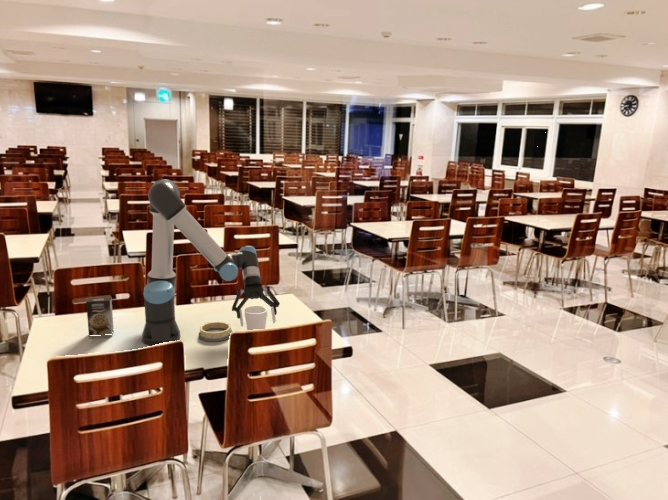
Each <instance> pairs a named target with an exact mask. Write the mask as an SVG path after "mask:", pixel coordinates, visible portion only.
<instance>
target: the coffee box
mask: <svg viewBox="0 0 668 500" xmlns="http://www.w3.org/2000/svg"><path fill="white" fill-rule="evenodd" d="M112 302H113V298H112V296H111V295H110V296H95V297H94V296H93V297H92V296H91V297H88V298H87V300H86V301H85V304H86V316H87V318H86V319H87V328H88V339H97V338H98V339H99V338H112V337H113V335H114V333H115V330H113V329H115V328H114V317H113V304H112ZM112 332H113V333H112ZM105 334H112V335H105ZM89 335H101V336H89Z"/></svg>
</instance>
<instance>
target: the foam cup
mask: <svg viewBox="0 0 668 500" xmlns="http://www.w3.org/2000/svg"><path fill="white" fill-rule="evenodd" d="M267 317H268V308H266V307H264V306H259V305H253V306H252V305H251V306H248V307H246V308H244V318H245V326H246V330H253V329H265V330H266V324H267Z"/></svg>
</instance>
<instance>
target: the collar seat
mask: <svg viewBox="0 0 668 500" xmlns="http://www.w3.org/2000/svg"><path fill="white" fill-rule="evenodd" d="M231 332H232V333H233V329H232V326H231V324H229V323H227V322H225V321H210V322H207V323H204V324H202V325H201V326H200V327H199V332H198V338H199V340H201V341H204V342H207V343H218V342H224V341H226V340H229V339H230V338H229V336H230V333H231Z"/></svg>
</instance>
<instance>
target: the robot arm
mask: <svg viewBox="0 0 668 500" xmlns="http://www.w3.org/2000/svg"><path fill="white" fill-rule="evenodd" d="M147 195H148V196H147V197H148V201H149V209H148V211H149V213H150V214H152V238H151V239H152V240H151V241H152V243H151V270H150V271H149V272H148V273H147V283H146V285H144V288H143V294H142V295H143V297H144V298H143V300H144V316H145V324H144V327H143V330H142V333H141V339H142V343H143V344H145V345H149V346H153V345H155V344H159V343H163V342H169V341H175V340H178V341H179V340H180V339H181V331H180V328H179V325H178V323H177V321H176V311H175V309H176V308H175V298H176V291H177V286H176V282H177V280H176V279H177V277H176V276H177V274H176V272H175V271H174V270H173V266H174V262H173V261H174V244H175V243H174V241H175V239H174V237H175V227H176V229H178V230H179V232H181V234H182V235H183V236H184V237H185V238H186V239H187V240H188V242H190V243H191V244H192V245H193V247H194V248H196V250H197V251H198V252H199V253H200V254H201V255H202V256H203V258H204V259H206V261H207V262H209V264H210V265H211V266H212V267H213V270H214V271H215V272H218V274H219V276H220V278H221V279H222V280H223V281H225V282H233V281H234V280H235V279H236V278H237V277H238V275H239V270H241V272H242V280H243V288H244V289H241V288H238V289H237V295H236V297H235V299H234V302H233V305H232V307H231V311H232V312H236V318H237V319H238V320H239V322H240V327H243V326H244V318H243V312H242V311H243V309H242V308H243V306H244V305H245V304H246V302H247V301H249V299H250V300H254V299H255V300H257V299H260V300H262V301H264V303H266V304H267V305H268V306H269V307H270V312H271V318H272V324H275V323H276V321H277V320H276V319H277V318H276V315H277V313H278V312H277V311H278V310H277V308H279V306H280V305H281V304H280V302H279V300H278V299H277V298H276V296H275V295H274V294H273V292H272V291H271V289H270V286H268V285H267V286H266V287H263V286H262V280H261V274H260V273H261V272H260V266H259V259H258V254H257V249H256V248H255V246H252V245H245V246H242V247H241V248H240V249H239V251H238V252H233V253H232V252H230V253H226V252H225V251H224V250H223V249H222V248H221V246H220V245H219V244H218V243H217V242H216V241H215V240H214V239H213V237H212V236H211V235H210V234H209V233H208V232H207V231H206V229H204V227H202V225H201V224H200V223H199V222H198V221H197V220H196V219H195V217H194V216H193V215H192V214H191V212H189V211H188V210H187V205H186V203H185V202H184V201H183V200H182V199H181V197H180V195H181V192H180V188H179V186H178V185H177V183H175V182H174V181H173V180H170V179H165V178H163V179H158V180H156V181H154V182H153V183H152V184H151V186H150V188H149V190H148V194H147ZM264 293H265V294H267V296H268V297H267V296H266V295H265V294H264ZM243 294H245V297H244V298H243V299H242V300H241V302H240V303H239V300H240V298H241V296H242V295H243ZM238 303H239V304H238Z"/></svg>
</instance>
